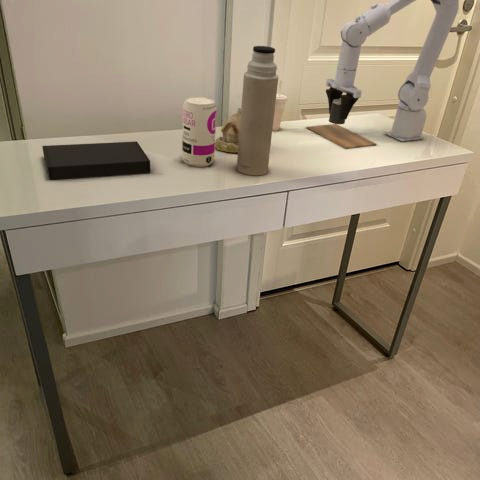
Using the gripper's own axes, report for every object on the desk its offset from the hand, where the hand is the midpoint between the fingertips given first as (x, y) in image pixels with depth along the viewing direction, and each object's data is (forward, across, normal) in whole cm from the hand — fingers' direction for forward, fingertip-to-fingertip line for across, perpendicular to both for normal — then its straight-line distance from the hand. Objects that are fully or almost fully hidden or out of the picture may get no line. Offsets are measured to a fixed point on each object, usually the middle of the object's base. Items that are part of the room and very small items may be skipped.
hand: (337, 116), depth 156 cm
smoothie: (+5, -9, -18) cm, 20 cm away
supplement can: (+5, +10, -52) cm, 54 cm away
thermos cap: (+2, 0, 0) cm, 2 cm away
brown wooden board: (+5, +3, 0) cm, 6 cm away
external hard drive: (+5, +5, -78) cm, 78 cm away
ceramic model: (+5, +2, -36) cm, 37 cm away
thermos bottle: (+5, +19, -42) cm, 46 cm away
